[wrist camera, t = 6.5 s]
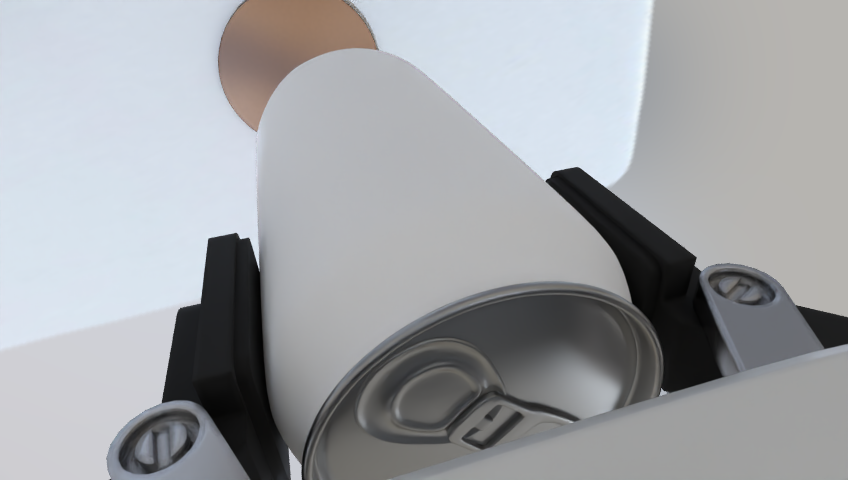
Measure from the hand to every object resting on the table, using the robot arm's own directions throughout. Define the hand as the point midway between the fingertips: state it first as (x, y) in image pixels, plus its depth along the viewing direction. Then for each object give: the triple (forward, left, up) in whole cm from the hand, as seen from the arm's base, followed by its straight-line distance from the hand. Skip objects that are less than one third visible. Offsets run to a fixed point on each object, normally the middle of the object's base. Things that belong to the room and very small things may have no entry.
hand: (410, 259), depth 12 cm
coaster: (+1, -1, -22) cm, 22 cm away
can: (0, 0, -7) cm, 7 cm away
